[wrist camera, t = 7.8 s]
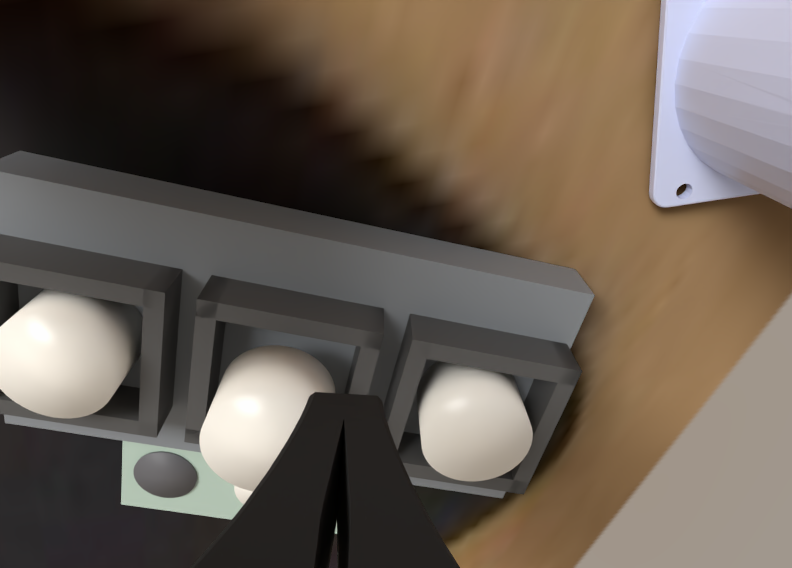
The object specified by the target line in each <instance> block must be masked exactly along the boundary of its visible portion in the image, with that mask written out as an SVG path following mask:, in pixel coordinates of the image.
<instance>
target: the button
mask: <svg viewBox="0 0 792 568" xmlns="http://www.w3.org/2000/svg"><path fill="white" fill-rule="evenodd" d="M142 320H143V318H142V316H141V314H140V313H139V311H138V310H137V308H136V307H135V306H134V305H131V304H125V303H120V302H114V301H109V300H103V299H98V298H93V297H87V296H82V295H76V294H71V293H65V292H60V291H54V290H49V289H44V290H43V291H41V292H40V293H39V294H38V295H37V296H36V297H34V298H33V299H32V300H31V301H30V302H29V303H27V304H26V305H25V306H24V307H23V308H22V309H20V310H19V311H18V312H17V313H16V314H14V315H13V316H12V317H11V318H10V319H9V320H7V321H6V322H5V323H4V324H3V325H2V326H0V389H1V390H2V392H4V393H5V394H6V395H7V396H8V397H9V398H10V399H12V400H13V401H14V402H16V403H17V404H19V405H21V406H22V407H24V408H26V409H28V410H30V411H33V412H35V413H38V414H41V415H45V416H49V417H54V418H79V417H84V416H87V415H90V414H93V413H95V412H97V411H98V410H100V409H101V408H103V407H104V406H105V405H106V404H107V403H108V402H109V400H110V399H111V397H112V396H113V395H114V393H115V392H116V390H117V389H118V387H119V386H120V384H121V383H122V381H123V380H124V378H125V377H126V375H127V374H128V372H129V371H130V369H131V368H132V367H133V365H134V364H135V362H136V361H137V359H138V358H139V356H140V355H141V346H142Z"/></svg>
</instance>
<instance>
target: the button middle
mask: <svg viewBox="0 0 792 568" xmlns="http://www.w3.org/2000/svg"><path fill="white" fill-rule="evenodd" d="M314 392H325V393H335V385H334V382H333V379H332V377H331V375H330V373H329V372H328V370H327V369H326V368H325V367H324V366H323V364H322V363H321V362H319V361H318V360H317V359H316V358H314V357H313V356H311V355H310V354H308V353H306V352H304V351H301V350H299V349H296V348H292V347H288V346H280V345H269V346H261V347H257V348H254V349H251V350H248V351H246V352H244V353H242V354H241V355H239V356H238V357H237V358H235V359H234V360H233V361H232V362H231V363H230V365H229V366H228V367H227V369H226V371H225V373H224V375H223V378H222V380H221V382H220V385H219V387H218V390H217V392H216V394H215V397H214V399H213V402H212V404H211V406H210V409H209V411H208V414H207V416H206V418H205V421H204V423H203V426H202V428H201V431H200V437H199V443H200V450H201V452H202V455H203V457H204V459H205V461H206V463H207V464H208V466H209V467H210V468H211V469H212V470H213V471H214V472H215V473H216V474H217V475H218V476H219V477H221V478H222V479H224V480H225V481H227V482H228V483H230V484H232V485H234V486H237V487H239V488H242V489H245V490H249V491H254V490H255V488H256V487H257V486H258V484H259V483H260V482H261V480H262V479H263V477H264V476H265V475H266V473H267V472H268V470H269V469H270V467H271V466H272V464H273V463H274V461H275V459H276V458H277V456H278V455H279V453H280V451H281V450H282V448H283V447H284V445H285V444H286V442H287V440H288V439H289V437H290V435H291V433H292V432H293V430H294V428H295V426H296V424H297V422H298V421H299V419H300V417H301V415H302V413H303V410H304V408H305V406H306V404H307V401H308V398H309V396H310V395H312V394H313V393H314Z"/></svg>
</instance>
